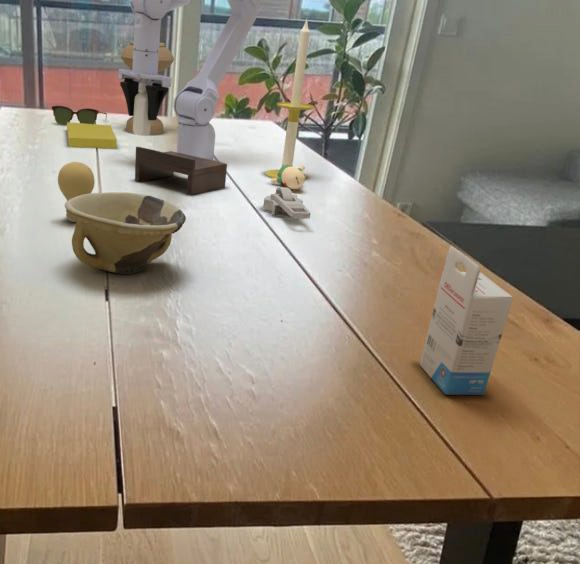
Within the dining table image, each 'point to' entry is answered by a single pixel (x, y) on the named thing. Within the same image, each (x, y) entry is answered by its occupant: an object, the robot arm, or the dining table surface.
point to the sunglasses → (66, 114)
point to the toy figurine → (290, 176)
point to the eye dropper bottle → (141, 111)
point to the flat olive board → (90, 135)
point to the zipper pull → (285, 204)
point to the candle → (295, 102)
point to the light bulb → (75, 181)
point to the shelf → (180, 169)
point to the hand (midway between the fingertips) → (142, 117)
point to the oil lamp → (163, 63)
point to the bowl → (122, 229)
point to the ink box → (464, 328)
